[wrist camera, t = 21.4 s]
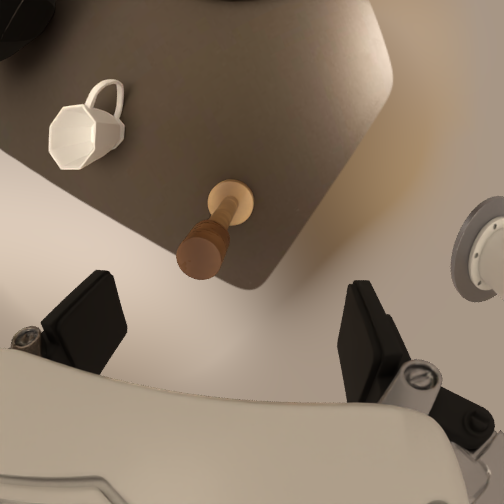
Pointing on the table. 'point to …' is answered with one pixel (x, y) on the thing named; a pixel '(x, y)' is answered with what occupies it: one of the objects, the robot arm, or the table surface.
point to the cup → (86, 131)
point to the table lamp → (22, 23)
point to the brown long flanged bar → (215, 230)
